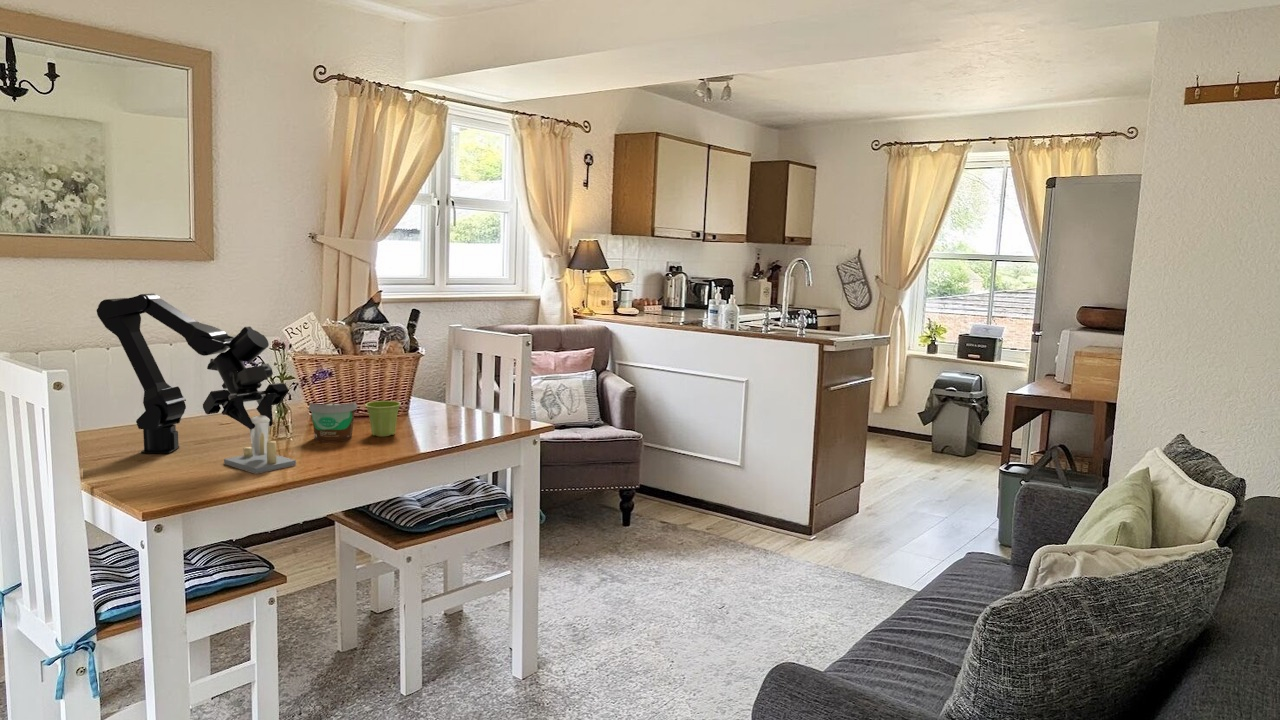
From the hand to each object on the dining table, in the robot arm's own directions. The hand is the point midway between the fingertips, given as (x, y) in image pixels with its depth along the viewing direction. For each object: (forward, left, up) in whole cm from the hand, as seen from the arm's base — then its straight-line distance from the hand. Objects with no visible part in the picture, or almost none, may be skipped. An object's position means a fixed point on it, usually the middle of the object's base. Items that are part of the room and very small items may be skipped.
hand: (261, 426), depth 192 cm
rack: (-1, +1, -9) cm, 9 cm away
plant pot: (+22, +33, -10) cm, 41 cm away
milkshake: (-1, +1, -7) cm, 7 cm away
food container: (+10, +26, -10) cm, 29 cm away
